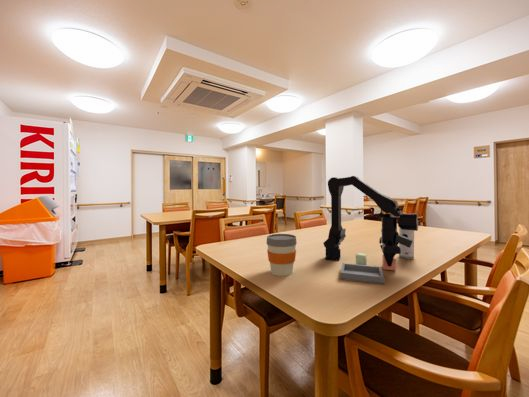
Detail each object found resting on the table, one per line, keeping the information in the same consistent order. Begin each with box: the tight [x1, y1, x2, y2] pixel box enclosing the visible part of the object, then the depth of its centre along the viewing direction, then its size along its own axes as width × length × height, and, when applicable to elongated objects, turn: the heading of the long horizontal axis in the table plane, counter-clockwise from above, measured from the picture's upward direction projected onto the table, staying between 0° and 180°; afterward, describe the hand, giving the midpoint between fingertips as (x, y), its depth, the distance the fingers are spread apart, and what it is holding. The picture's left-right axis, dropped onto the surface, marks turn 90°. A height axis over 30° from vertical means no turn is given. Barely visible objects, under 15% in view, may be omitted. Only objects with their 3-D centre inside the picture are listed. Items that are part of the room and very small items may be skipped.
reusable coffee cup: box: [266, 233, 297, 277], centre depth 99 cm, size 13×13×15 cm
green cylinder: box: [355, 252, 368, 265], centre depth 105 cm, size 4×4×5 cm
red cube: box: [381, 254, 397, 272], centre depth 101 cm, size 4×4×5 cm
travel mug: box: [398, 227, 415, 260], centre depth 116 cm, size 6×7×20 cm
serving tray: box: [340, 262, 385, 285], centre depth 93 cm, size 15×12×3 cm
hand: (388, 264), depth 101 cm, fingers closed on red cube, 4 cm apart
